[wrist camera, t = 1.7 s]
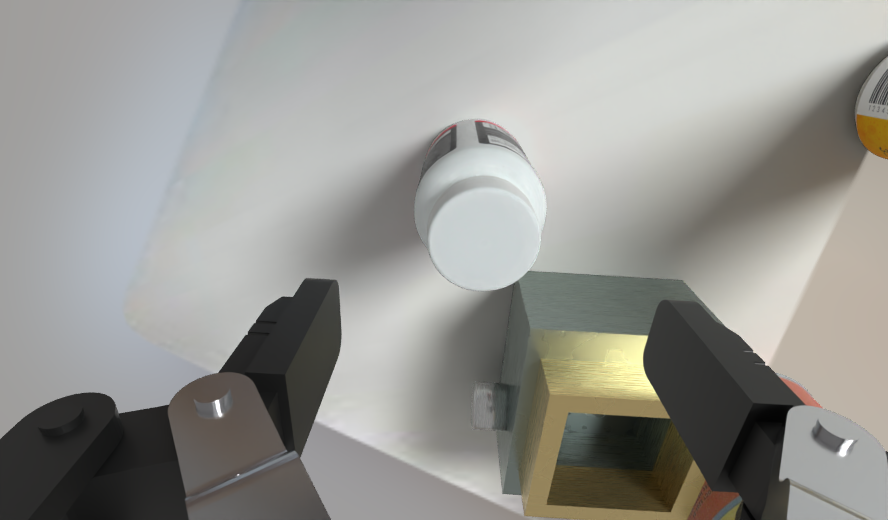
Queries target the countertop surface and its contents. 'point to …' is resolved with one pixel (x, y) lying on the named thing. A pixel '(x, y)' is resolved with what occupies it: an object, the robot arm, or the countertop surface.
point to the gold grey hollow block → (586, 402)
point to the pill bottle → (479, 206)
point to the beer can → (874, 111)
